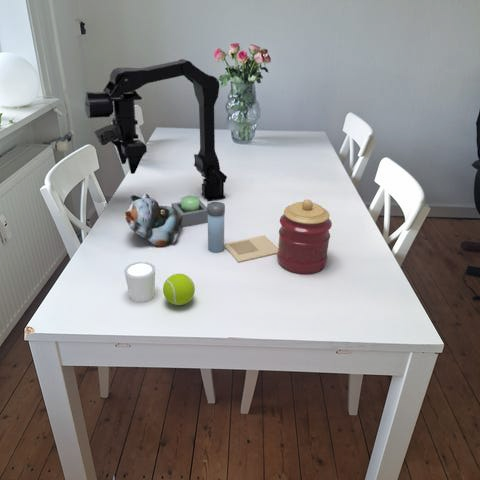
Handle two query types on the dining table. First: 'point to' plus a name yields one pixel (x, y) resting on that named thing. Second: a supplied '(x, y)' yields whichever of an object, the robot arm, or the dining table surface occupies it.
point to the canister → (304, 237)
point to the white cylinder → (140, 281)
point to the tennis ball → (179, 289)
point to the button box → (192, 215)
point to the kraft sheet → (251, 248)
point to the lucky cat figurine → (153, 220)
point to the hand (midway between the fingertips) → (128, 168)
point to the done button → (189, 204)
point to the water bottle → (215, 226)
